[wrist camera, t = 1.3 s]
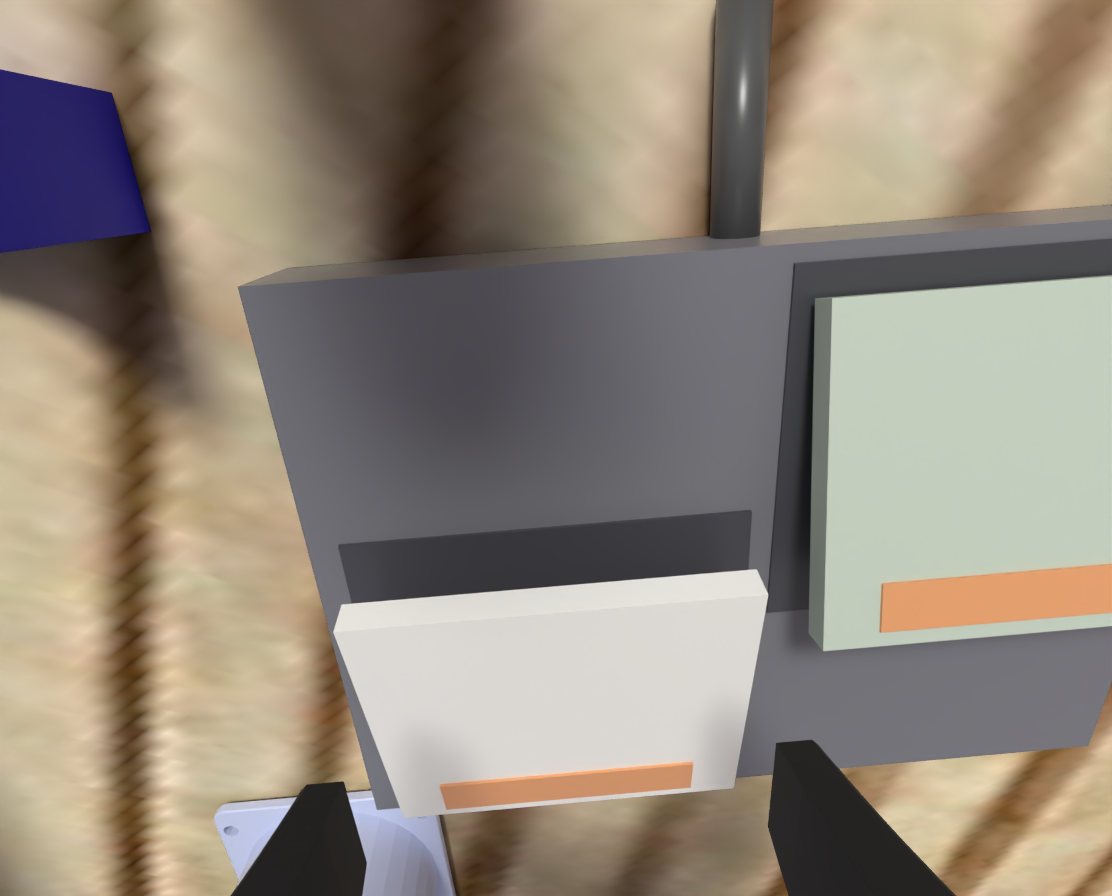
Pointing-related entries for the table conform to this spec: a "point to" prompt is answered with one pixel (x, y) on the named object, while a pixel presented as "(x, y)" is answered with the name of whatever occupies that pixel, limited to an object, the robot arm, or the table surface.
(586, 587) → the cream rocker
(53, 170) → the blue curved bracket
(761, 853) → the table surface
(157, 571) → the table surface
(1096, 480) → the plate
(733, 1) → the switch block
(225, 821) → the robot arm
